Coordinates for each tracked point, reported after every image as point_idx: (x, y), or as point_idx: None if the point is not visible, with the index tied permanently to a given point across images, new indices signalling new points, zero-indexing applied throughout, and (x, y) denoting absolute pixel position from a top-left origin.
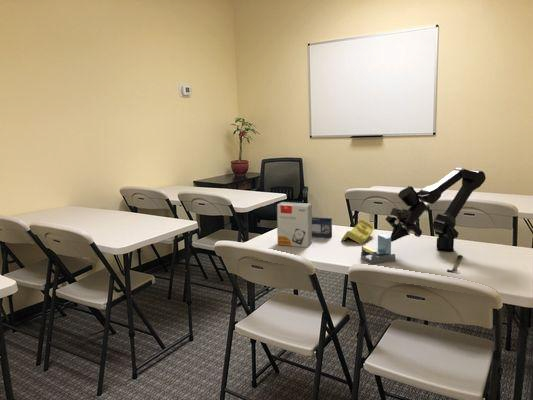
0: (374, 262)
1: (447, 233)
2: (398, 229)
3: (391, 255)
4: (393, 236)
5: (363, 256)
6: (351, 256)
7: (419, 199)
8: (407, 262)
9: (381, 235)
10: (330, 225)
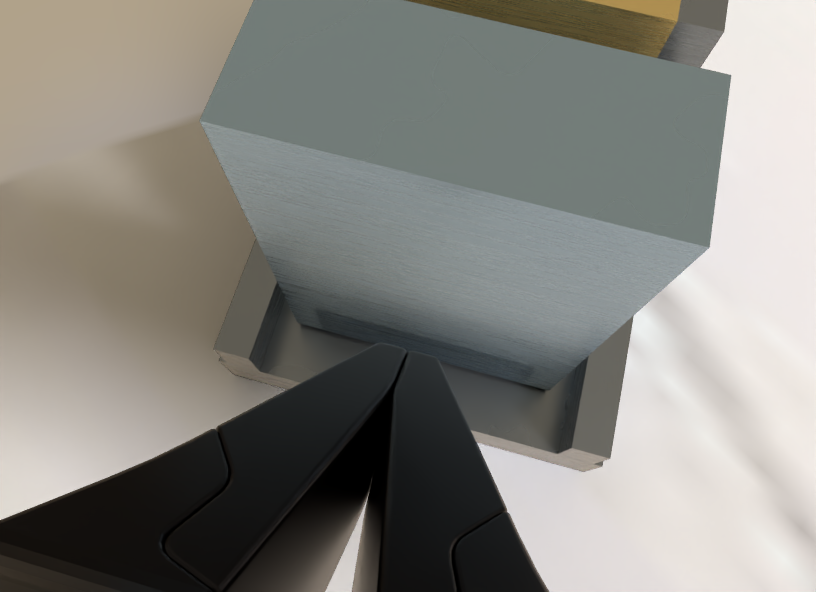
0: None
1: None
2: (21, 582)
3: (243, 273)
4: (311, 389)
5: None
6: (764, 61)
7: None
8: (52, 470)
9: (610, 103)
10: None
